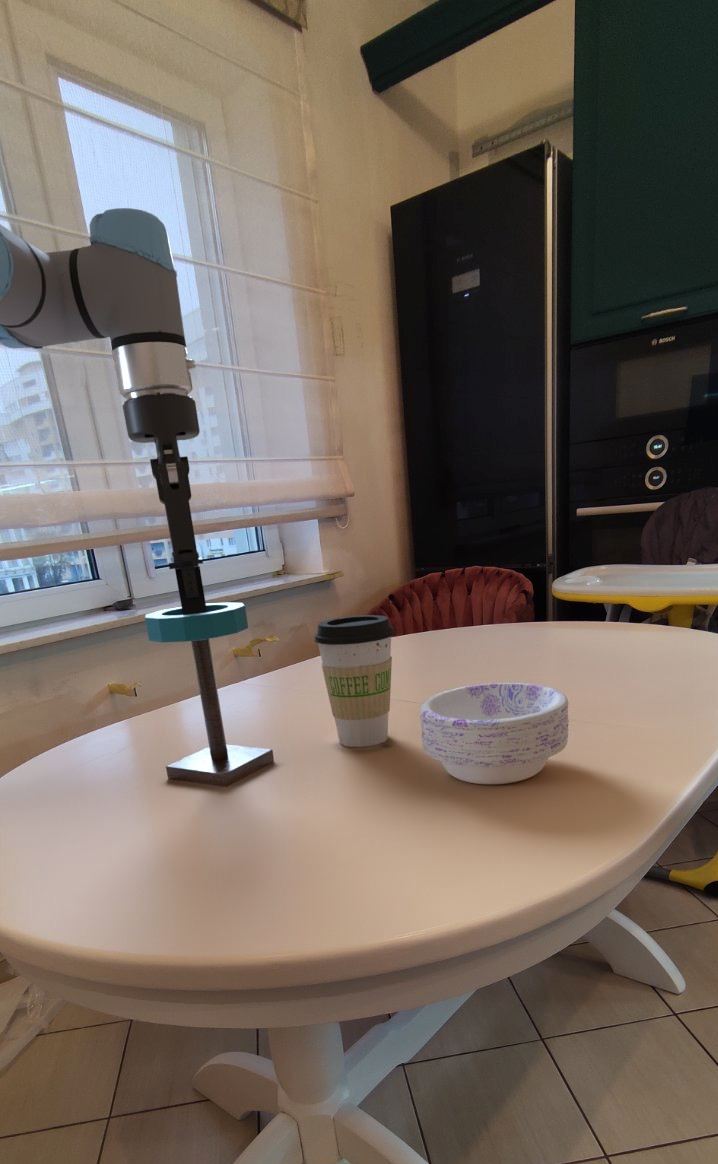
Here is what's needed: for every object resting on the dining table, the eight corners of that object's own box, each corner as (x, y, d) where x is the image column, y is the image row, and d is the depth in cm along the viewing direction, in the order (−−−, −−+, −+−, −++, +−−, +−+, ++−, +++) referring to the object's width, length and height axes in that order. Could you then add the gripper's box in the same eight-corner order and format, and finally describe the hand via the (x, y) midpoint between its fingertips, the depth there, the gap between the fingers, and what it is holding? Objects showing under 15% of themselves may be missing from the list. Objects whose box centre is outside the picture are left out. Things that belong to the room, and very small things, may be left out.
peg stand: (167, 778, 86) (141, 646, 80) (218, 754, 93) (197, 632, 87) (225, 786, 81) (202, 647, 75) (274, 760, 88) (256, 632, 82)
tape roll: (130, 644, 78) (125, 620, 77) (180, 626, 87) (176, 605, 86) (220, 640, 75) (216, 615, 74) (262, 622, 84) (259, 600, 83)
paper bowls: (408, 793, 74) (402, 718, 71) (441, 747, 87) (438, 682, 84) (561, 800, 69) (562, 719, 66) (572, 749, 82) (573, 680, 79)
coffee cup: (358, 756, 87) (346, 630, 81) (310, 742, 94) (296, 625, 88) (417, 736, 92) (410, 616, 87) (368, 724, 99) (358, 612, 94)
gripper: (197, 382, 70) (234, 629, 79) (191, 406, 84) (223, 614, 92) (117, 387, 68) (164, 638, 77) (124, 410, 82) (164, 621, 91)
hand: (196, 624), depth 85 cm, fingers closed on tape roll, 2 cm apart
